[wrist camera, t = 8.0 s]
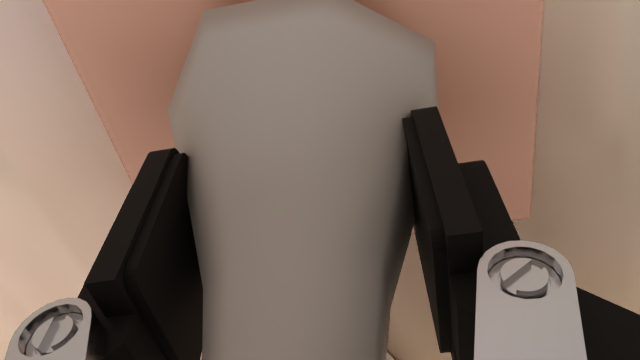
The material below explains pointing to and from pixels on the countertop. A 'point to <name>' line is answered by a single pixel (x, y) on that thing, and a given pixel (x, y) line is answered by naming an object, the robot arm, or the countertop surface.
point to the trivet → (394, 3)
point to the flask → (299, 174)
